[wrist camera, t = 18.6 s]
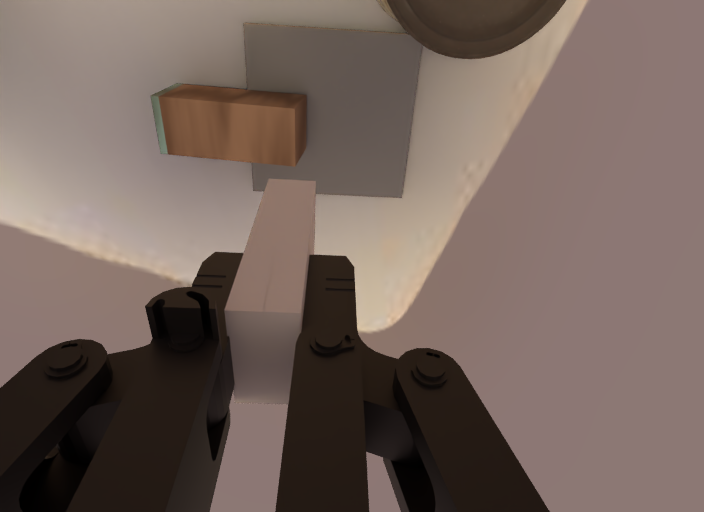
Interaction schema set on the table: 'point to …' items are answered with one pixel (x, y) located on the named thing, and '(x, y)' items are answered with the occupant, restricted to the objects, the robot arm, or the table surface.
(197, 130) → the walnut block
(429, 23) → the coffee can
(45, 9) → the table surface
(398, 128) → the slate coaster
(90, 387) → the robot arm
